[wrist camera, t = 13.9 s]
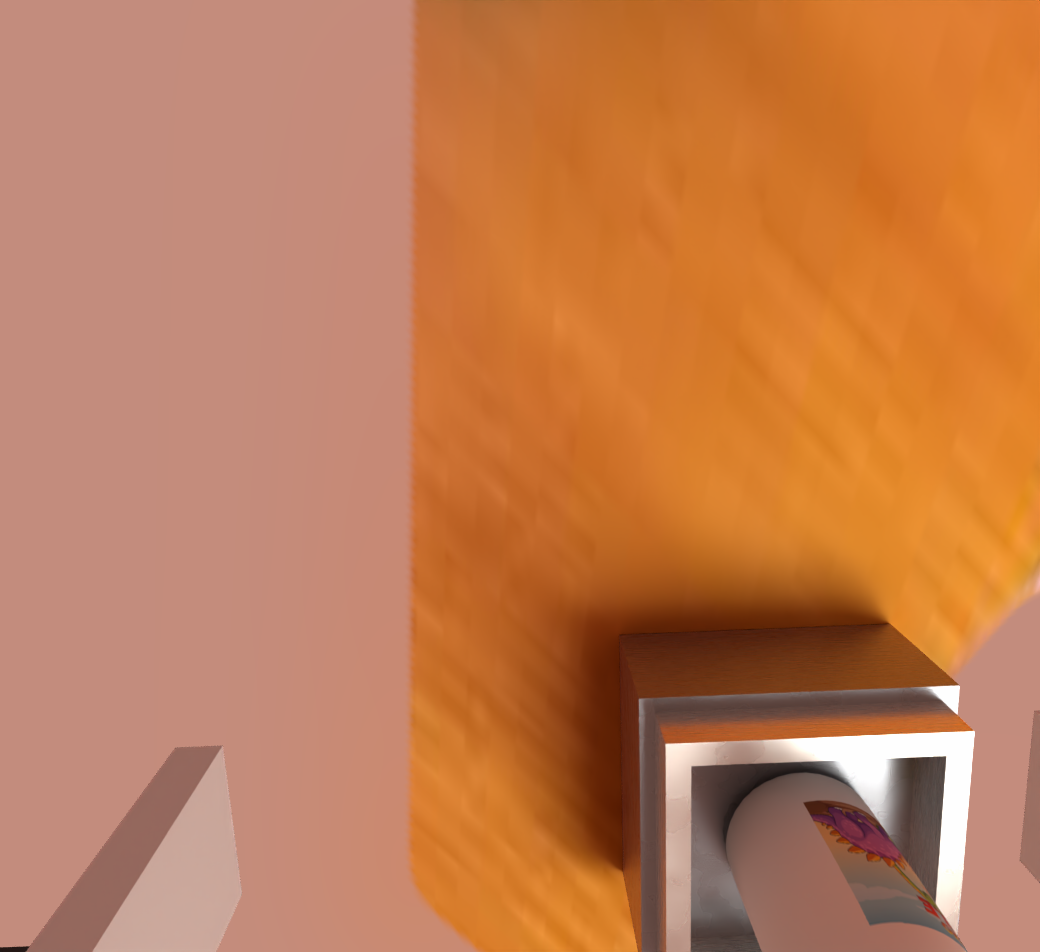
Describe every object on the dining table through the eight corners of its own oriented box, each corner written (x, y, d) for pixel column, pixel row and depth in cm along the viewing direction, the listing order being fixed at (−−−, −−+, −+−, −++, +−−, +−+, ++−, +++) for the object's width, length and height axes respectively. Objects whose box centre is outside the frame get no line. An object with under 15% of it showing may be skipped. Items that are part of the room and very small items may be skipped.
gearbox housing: (619, 634, 50) (648, 729, 40) (890, 623, 50) (992, 714, 40) (623, 888, 54) (650, 1038, 43) (875, 878, 54) (965, 1025, 43)
